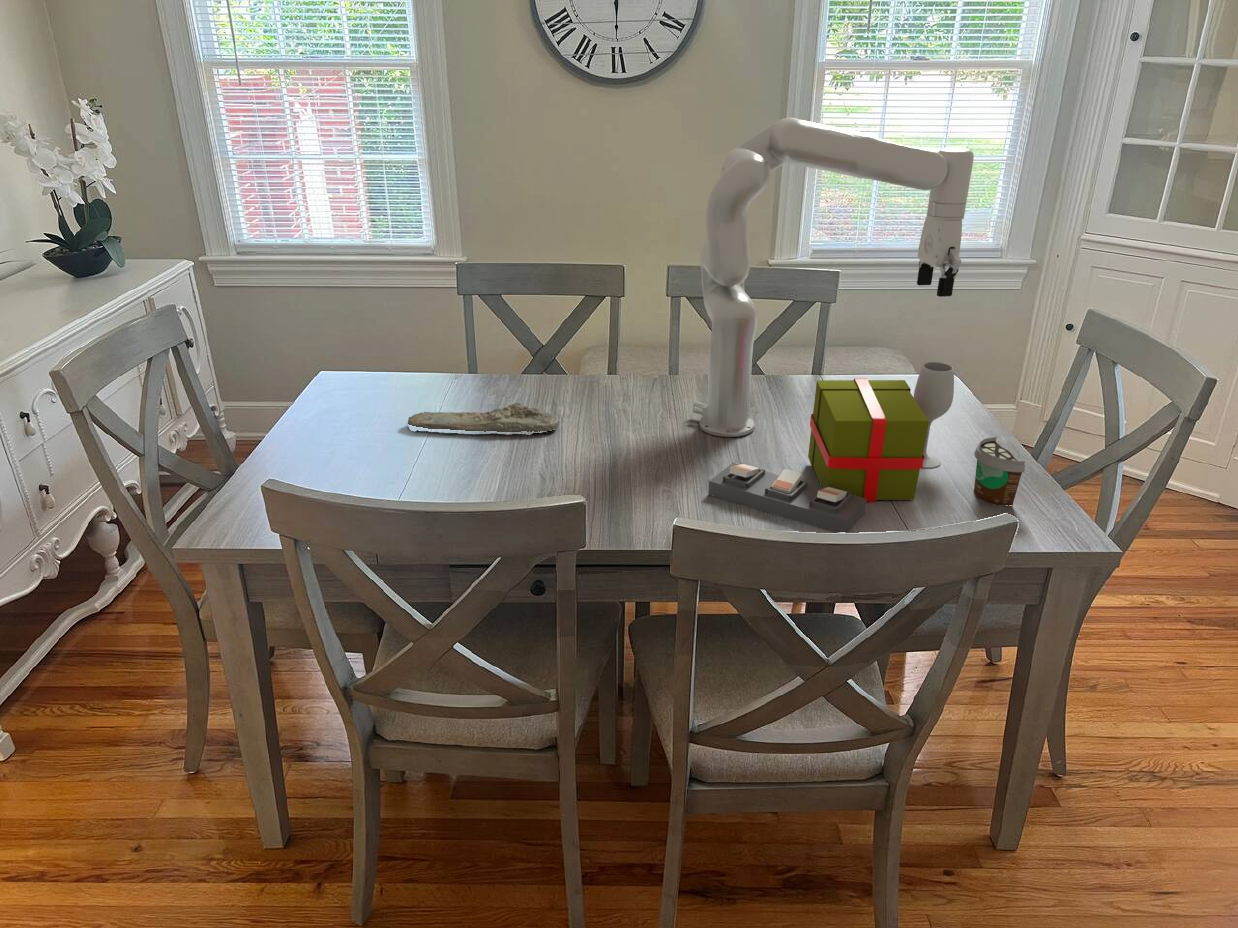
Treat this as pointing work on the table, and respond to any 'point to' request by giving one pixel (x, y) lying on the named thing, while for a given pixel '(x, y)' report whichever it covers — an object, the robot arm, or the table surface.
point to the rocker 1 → (744, 470)
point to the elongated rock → (489, 420)
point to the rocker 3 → (831, 494)
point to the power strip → (788, 500)
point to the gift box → (867, 438)
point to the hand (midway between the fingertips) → (933, 290)
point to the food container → (996, 473)
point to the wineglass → (934, 398)
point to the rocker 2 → (787, 481)
